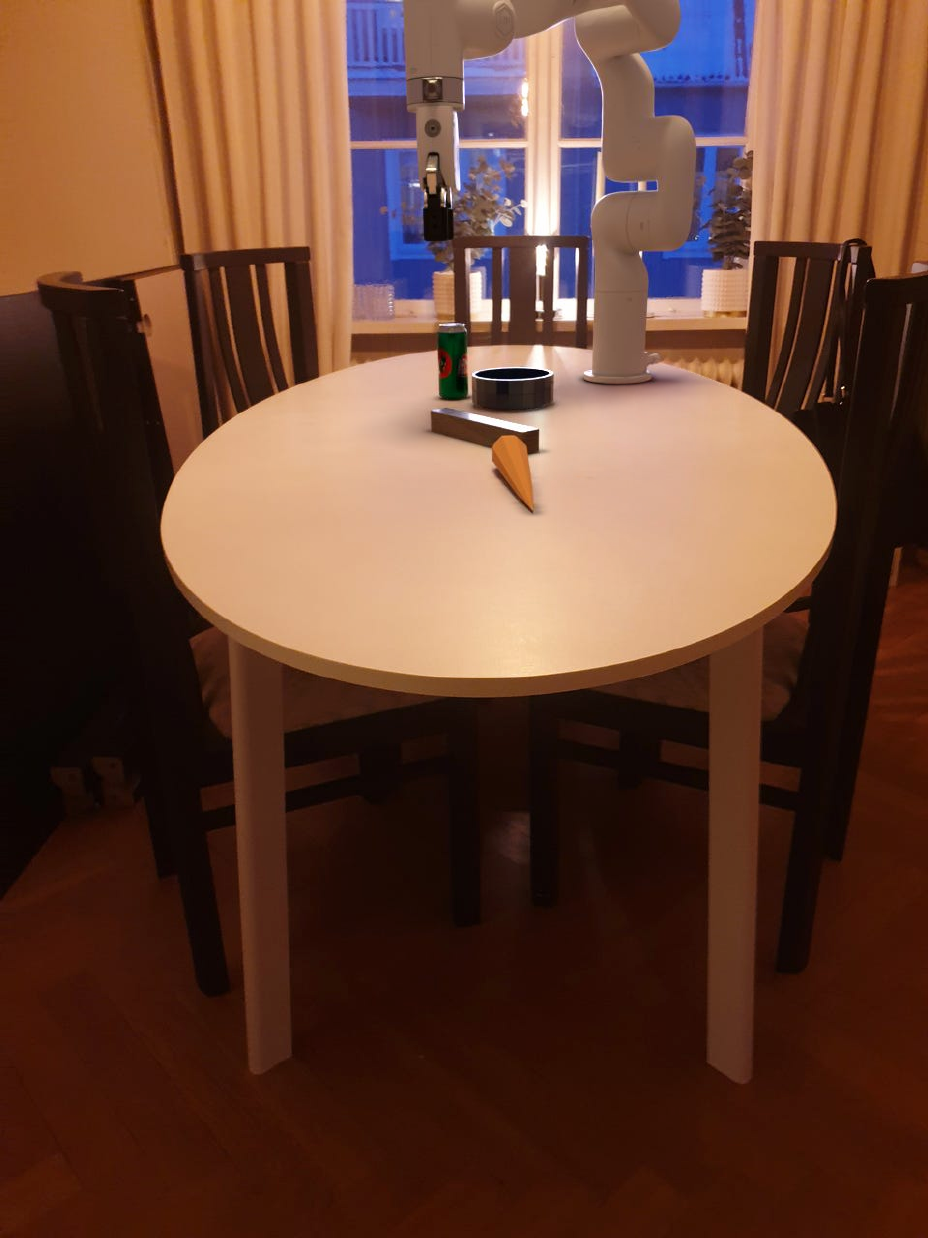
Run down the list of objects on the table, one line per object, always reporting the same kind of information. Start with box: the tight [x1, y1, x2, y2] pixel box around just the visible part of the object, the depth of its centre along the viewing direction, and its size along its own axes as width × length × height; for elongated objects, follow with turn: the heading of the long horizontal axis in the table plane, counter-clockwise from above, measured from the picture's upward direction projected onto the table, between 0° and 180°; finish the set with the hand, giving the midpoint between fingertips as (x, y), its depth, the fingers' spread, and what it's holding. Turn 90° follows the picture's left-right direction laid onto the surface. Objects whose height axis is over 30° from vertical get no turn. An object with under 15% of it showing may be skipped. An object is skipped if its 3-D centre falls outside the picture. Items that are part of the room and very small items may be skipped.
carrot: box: [491, 435, 534, 512], centre depth 102 cm, size 20×4×4 cm, turn 5°
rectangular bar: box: [430, 407, 540, 455], centre depth 124 cm, size 3×20×3 cm, turn 38°
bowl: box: [471, 366, 555, 412], centre depth 147 cm, size 13×13×5 cm
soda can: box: [436, 322, 469, 401], centre depth 152 cm, size 5×5×12 cm
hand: (439, 240), depth 124 cm, fingers open, 9 cm apart
